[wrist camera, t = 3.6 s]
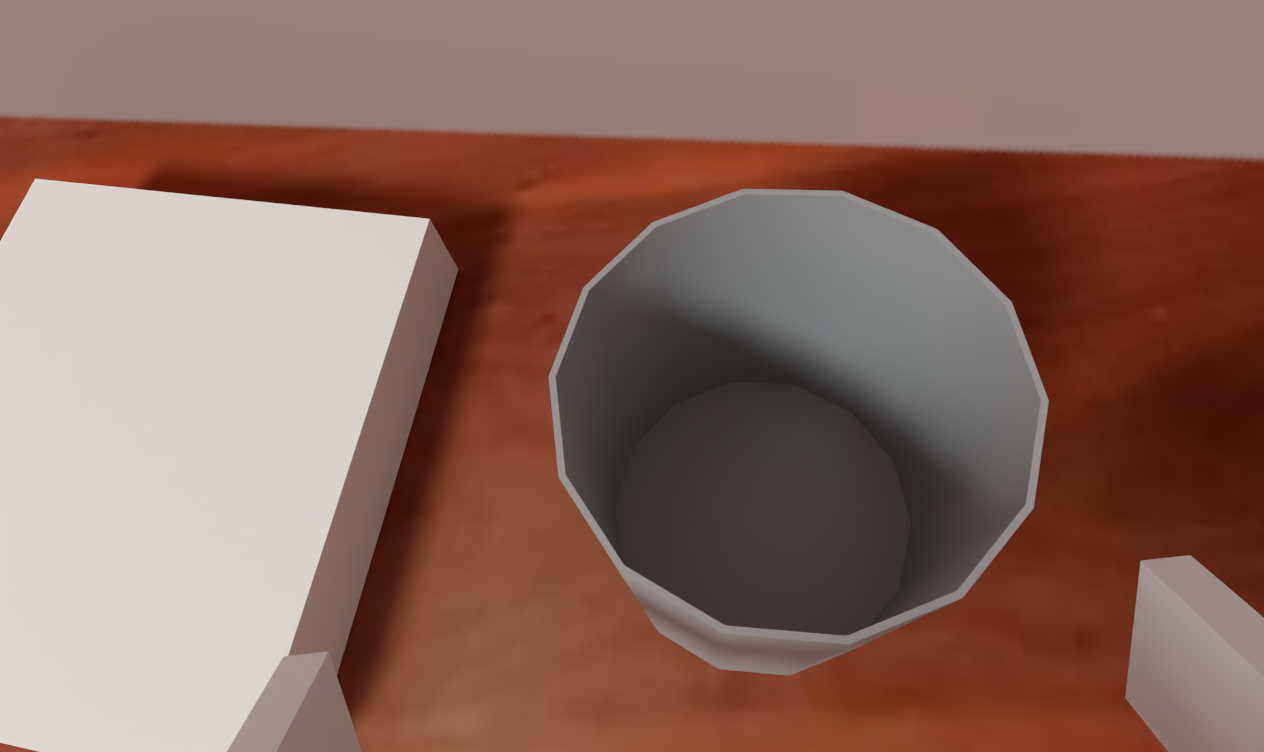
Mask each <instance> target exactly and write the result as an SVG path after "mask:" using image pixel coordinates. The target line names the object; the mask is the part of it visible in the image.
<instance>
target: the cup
mask: <svg viewBox="0 0 1264 752" xmlns="http://www.w3.org/2000/svg"><path fill="white" fill-rule="evenodd" d="M549 385H550V395H551V406H552V416H553V426H554V436H555V446H556V456H557V466H558V476H559V479H560V480H561V482H562V484H563V485H564V487H565V488H566V490H567V491H568V493H569V494H570V496H571V498H572V499H573V501H574V502H575V504H576V505H577V507H578V508H579V510H580V511H581V513H582V515H583V516H584V518H585V519H586V521H587V522H588V524H589V525H590V527H591V529H592V530H593V532H594V533H595V535H596V536H597V538H598V539H599V541H600V543H601V544H602V546H603V547H604V549H605V550H606V552H607V553H608V555H609V557H610V558H611V560H612V561H613V563H614V564H615V566H616V567H617V569H618V571H619V572H620V574H621V575H622V577H623V578H624V580H625V581H626V583H627V584H628V586H629V588H630V589H631V591H632V592H633V594H634V595H635V597H636V598H637V600H638V601H639V603H640V605H641V606H642V608H643V609H644V611H645V612H646V614H647V615H648V617H649V618H650V620H651V622H652V623H653V625H654V626H655V628H656V629H657V631H658V632H659V633H661V634H662V635H664V636H666V637H667V638H669V639H670V640H672V641H674V642H675V643H677V644H679V645H680V646H682V647H683V648H685V649H687V650H688V651H690V652H692V653H693V654H695V655H697V656H698V657H700V658H701V659H703V660H705V661H706V662H708V663H710V664H711V665H713V666H714V667H716V668H718V669H723V670H734V671H745V672H756V673H767V674H778V675H788V676H790V675H792V674H795V673H797V672H800V671H802V670H805V669H807V668H809V667H812V666H814V665H817V664H819V663H822V662H824V661H826V660H829V659H831V658H834V657H836V656H839V655H841V654H844V653H846V652H848V651H851V650H853V649H856V648H858V647H860V646H862V645H864V644H866V643H868V642H870V641H872V640H875V639H877V638H879V637H881V636H883V635H885V634H887V633H889V632H892V631H894V630H896V629H898V628H900V627H902V626H904V625H906V624H908V623H911V622H913V621H915V620H917V619H919V618H921V617H923V616H925V615H927V614H930V613H932V612H934V611H936V610H938V609H940V608H942V607H944V606H947V605H949V604H951V603H953V602H955V601H957V600H959V599H961V598H963V597H964V595H965V594H966V593H967V592H968V590H969V589H970V588H971V587H972V585H973V584H974V583H975V582H976V580H977V579H978V578H979V577H980V575H981V574H982V573H983V571H984V570H985V569H986V568H987V566H988V565H989V564H990V563H991V561H992V560H993V559H994V558H995V556H996V555H997V554H998V552H999V551H1000V550H1001V549H1002V547H1003V546H1004V545H1005V544H1006V542H1007V541H1008V540H1009V539H1010V537H1011V536H1012V535H1013V534H1014V532H1015V531H1016V530H1017V528H1018V527H1019V526H1020V525H1021V523H1022V522H1023V521H1024V520H1025V518H1026V517H1027V516H1028V515H1029V513H1030V512H1031V511H1032V510H1033V508H1034V503H1035V496H1036V488H1037V481H1038V474H1039V467H1040V460H1041V453H1042V446H1043V439H1044V431H1045V424H1046V417H1047V410H1048V403H1049V400H1048V397H1047V395H1046V392H1045V389H1044V387H1043V384H1042V381H1041V379H1040V376H1039V373H1038V371H1037V368H1036V365H1035V363H1034V360H1033V357H1032V355H1031V352H1030V349H1029V347H1028V344H1027V341H1026V339H1025V336H1024V333H1023V331H1022V328H1021V325H1020V323H1019V320H1018V317H1017V315H1016V312H1015V309H1014V307H1013V304H1012V302H1011V301H1010V300H1009V299H1008V298H1007V297H1006V296H1005V295H1004V294H1003V293H1002V292H1001V291H1000V290H999V289H998V288H997V287H996V286H995V285H994V284H993V283H992V282H991V281H990V280H989V279H988V278H987V277H986V276H985V275H984V274H983V273H982V272H981V271H980V270H979V269H978V268H977V267H976V266H974V265H973V264H972V263H971V262H970V261H969V260H968V259H967V258H966V257H965V256H964V255H963V254H962V253H961V252H960V251H959V250H958V249H957V248H956V247H955V246H954V245H953V244H952V243H951V242H950V241H949V240H948V239H947V238H946V237H945V236H944V235H943V234H942V233H941V232H940V231H939V230H938V229H936V228H933V227H931V226H928V225H926V224H923V223H921V222H918V221H916V220H913V219H911V218H909V217H906V216H904V215H901V214H899V213H896V212H894V211H891V210H889V209H886V208H884V207H881V206H879V205H876V204H874V203H872V202H869V201H867V200H864V199H862V198H859V197H857V196H854V195H852V194H849V193H847V192H844V191H831V190H776V189H741V190H739V191H736V192H733V193H730V194H728V195H725V196H722V197H720V198H717V199H714V200H712V201H709V202H706V203H703V204H701V205H698V206H695V207H693V208H690V209H687V210H685V211H682V212H679V213H676V214H674V215H671V216H668V217H666V218H663V219H660V220H658V221H655V222H652V223H651V224H650V225H649V226H648V227H647V228H646V229H645V230H644V231H643V232H642V233H641V234H640V235H638V236H637V237H636V238H635V239H634V240H633V241H632V242H631V243H630V244H629V245H628V246H627V247H626V248H625V249H624V250H623V251H622V252H620V253H619V254H618V255H617V256H616V257H615V258H614V259H613V260H612V261H611V262H610V263H609V264H608V265H607V266H606V267H605V268H603V269H602V270H601V271H600V272H599V273H598V274H597V275H596V276H595V277H594V278H593V279H592V280H591V281H590V282H589V283H588V284H587V285H585V286H584V287H583V290H582V292H581V295H580V298H579V300H578V303H577V305H576V308H575V310H574V313H573V315H572V318H571V321H570V323H569V326H568V328H567V331H566V333H565V336H564V339H563V341H562V344H561V346H560V349H559V351H558V354H557V356H556V359H555V362H554V364H553V367H552V369H551V372H550V374H549Z"/></svg>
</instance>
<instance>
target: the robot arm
mask: <svg viewBox="0 0 1264 752" xmlns="http://www.w3.org/2000/svg"><path fill="white" fill-rule="evenodd" d="M1125 698H1126V699H1127V701H1128V702H1129V703H1130V704H1131V706H1132V707H1133V708H1134V709H1135V711H1136V712H1137V713H1138V714H1139V716H1140V717H1141V718H1142V719H1143V721H1144V722H1145V723H1146V724H1147V726H1148V727H1149V728H1150V729H1151V731H1152V732H1153V733H1154V734H1155V736H1156V737H1157V738H1158V739H1159V741H1160V742H1161V743H1162V744H1163V746H1164V747H1165V748H1166V749H1167V751H1168V752H1264V617H1262V616H1261V615H1260V614H1259V613H1258V612H1256V611H1255V610H1254V609H1253V608H1252V607H1251V606H1249V605H1248V604H1247V603H1246V602H1245V601H1244V600H1242V599H1241V598H1240V597H1239V596H1238V595H1237V594H1235V593H1234V592H1233V591H1232V590H1231V589H1229V588H1228V587H1227V586H1226V585H1225V584H1224V583H1222V582H1221V581H1220V580H1219V579H1218V578H1217V577H1215V576H1214V575H1213V574H1212V573H1211V572H1210V571H1208V570H1207V569H1206V568H1205V567H1204V566H1203V565H1201V564H1200V563H1199V562H1198V561H1197V560H1195V559H1194V558H1193V557H1192V556H1191V555H1187V556H1178V557H1169V558H1160V559H1151V560H1142V561H1141V562H1140V571H1139V580H1138V589H1137V598H1136V607H1135V616H1134V625H1133V634H1132V642H1131V651H1130V660H1129V669H1128V678H1127V687H1126V696H1125ZM227 752H362V751H361V748H360V745H359V742H358V739H357V736H356V733H355V730H354V726H353V723H352V720H351V717H350V714H349V711H348V708H347V705H346V702H345V699H344V696H343V693H342V690H341V687H340V684H339V681H338V678H337V675H336V672H335V669H334V666H333V663H332V660H331V657H330V654H329V651H328V652H319V653H310V654H302V655H293V656H284V657H283V658H282V660H281V662H280V663H279V665H278V667H277V668H276V670H275V672H274V673H273V675H272V677H271V678H270V680H269V682H268V683H267V685H266V687H265V688H264V690H263V692H262V693H261V695H260V697H259V698H258V700H257V702H256V703H255V705H254V707H253V709H252V710H251V712H250V714H249V715H248V717H247V719H246V720H245V722H244V724H243V725H242V727H241V729H240V730H239V732H238V734H237V735H236V737H235V739H234V740H233V742H232V744H231V745H230V747H229V749H228V750H227Z"/></svg>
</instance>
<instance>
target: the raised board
mask: <svg viewBox="0 0 1264 752" xmlns="http://www.w3.org/2000/svg"><path fill="white" fill-rule="evenodd" d="M457 273H458V268H457V266H456V264H455V262H454V261H453V259H452V257H451V255H450V253H449V252H448V250H447V248H446V246H445V245H444V243H443V241H442V239H441V238H440V236H439V234H438V232H437V231H436V229H435V227H434V225H433V224H432V222H431V220H430V219H427V218H417V217H407V216H397V215H387V214H377V213H367V212H358V211H348V210H338V209H328V208H318V207H308V206H298V205H288V204H279V203H269V202H259V201H249V200H239V199H229V198H219V197H210V196H200V195H190V194H180V193H170V192H160V191H150V190H140V189H131V188H121V187H111V186H101V185H91V184H81V183H71V182H62V181H52V180H42V179H35V180H34V182H33V184H32V186H31V187H30V189H29V191H28V193H27V195H26V196H25V198H24V200H23V202H22V204H21V205H20V207H19V209H18V211H17V212H16V214H15V216H14V218H13V220H12V221H11V223H10V225H9V227H8V229H7V230H6V232H5V234H4V236H3V238H2V239H1V241H0V743H4V744H9V745H13V746H17V747H22V748H26V749H30V750H35V751H39V752H227V750H228V749H229V747H230V745H231V744H232V742H233V740H234V739H235V737H236V735H237V734H238V732H239V730H240V729H241V727H242V725H243V724H244V722H245V720H246V719H247V717H248V715H249V714H250V712H251V710H252V709H253V707H254V705H255V703H256V702H257V700H258V698H259V697H260V695H261V693H262V692H263V690H264V688H265V687H266V685H267V683H268V682H269V680H270V678H271V677H272V675H273V673H274V672H275V670H276V668H277V667H278V665H279V663H280V662H281V660H282V658H283V657H284V656H293V655H302V654H310V653H319V652H328V651H329V654H330V657H331V660H332V663H333V666H334V669H335V672H336V675H337V674H338V670H339V667H340V664H341V660H342V657H343V654H344V650H345V647H346V644H347V640H348V637H349V634H350V630H351V627H352V624H353V620H354V617H355V614H356V610H357V607H358V604H359V600H360V597H361V594H362V590H363V587H364V584H365V580H366V577H367V574H368V570H369V567H370V564H371V560H372V557H373V553H374V550H375V547H376V543H377V540H378V537H379V533H380V530H381V527H382V523H383V520H384V517H385V513H386V510H387V507H388V503H389V500H390V497H391V493H392V490H393V487H394V483H395V480H396V477H397V473H398V470H399V467H400V463H401V460H402V457H403V453H404V450H405V447H406V443H407V440H408V436H409V433H410V430H411V426H412V423H413V420H414V416H415V413H416V410H417V406H418V403H419V400H420V396H421V393H422V390H423V386H424V383H425V380H426V376H427V373H428V370H429V366H430V363H431V360H432V356H433V353H434V350H435V346H436V343H437V340H438V336H439V333H440V330H441V326H442V323H443V320H444V316H445V313H446V309H447V306H448V303H449V299H450V296H451V293H452V289H453V286H454V283H455V279H456V276H457Z"/></svg>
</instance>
